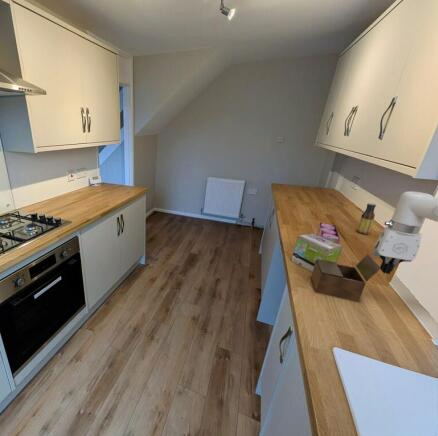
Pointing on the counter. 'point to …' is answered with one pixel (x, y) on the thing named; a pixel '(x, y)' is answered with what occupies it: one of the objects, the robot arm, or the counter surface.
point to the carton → (337, 280)
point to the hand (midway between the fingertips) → (384, 271)
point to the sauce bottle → (366, 219)
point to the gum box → (328, 232)
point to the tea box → (314, 250)
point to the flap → (367, 267)
